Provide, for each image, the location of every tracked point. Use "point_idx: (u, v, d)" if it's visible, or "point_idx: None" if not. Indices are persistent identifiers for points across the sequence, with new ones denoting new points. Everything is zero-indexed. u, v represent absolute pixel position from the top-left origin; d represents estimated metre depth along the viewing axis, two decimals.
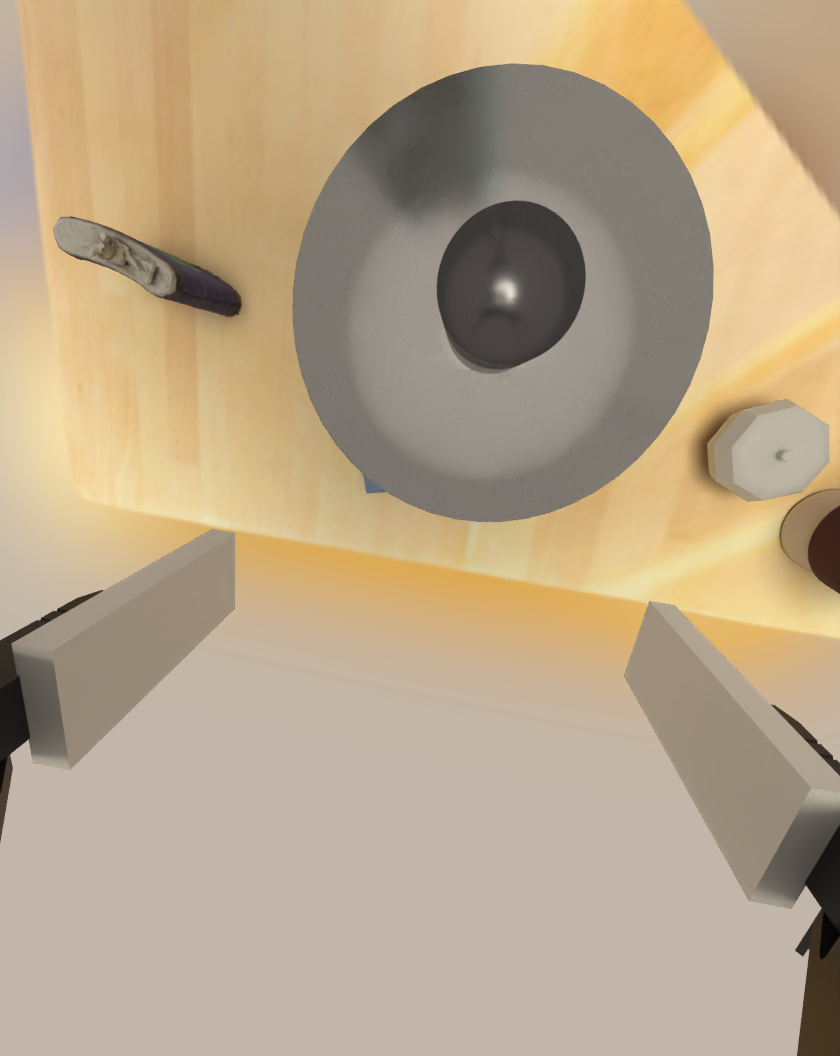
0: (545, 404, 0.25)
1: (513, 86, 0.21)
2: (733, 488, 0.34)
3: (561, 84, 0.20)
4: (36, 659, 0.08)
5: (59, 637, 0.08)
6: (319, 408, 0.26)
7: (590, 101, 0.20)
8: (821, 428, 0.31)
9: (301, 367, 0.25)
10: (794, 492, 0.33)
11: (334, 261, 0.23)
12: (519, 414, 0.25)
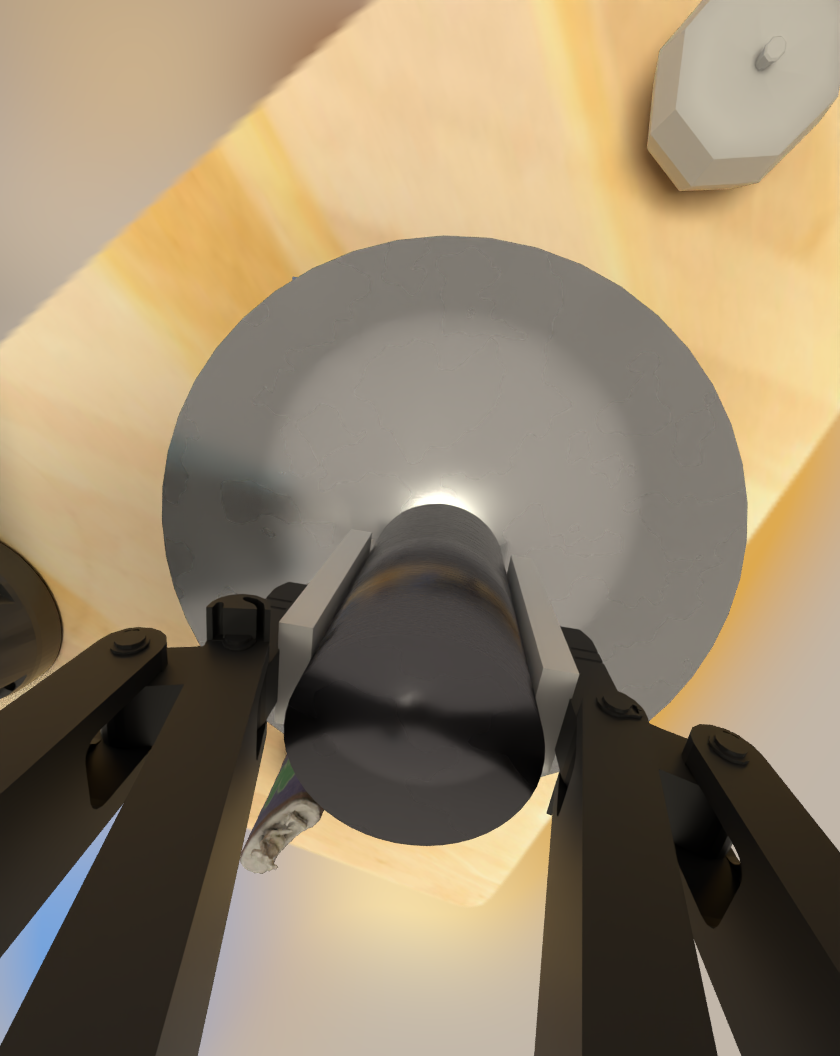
0: (568, 518, 0.16)
1: (183, 489, 0.17)
2: (784, 152, 0.20)
3: (188, 433, 0.16)
4: (297, 635, 0.10)
5: (309, 617, 0.10)
6: None
7: (209, 399, 0.16)
8: None
9: None
10: None
11: None
12: (570, 557, 0.16)
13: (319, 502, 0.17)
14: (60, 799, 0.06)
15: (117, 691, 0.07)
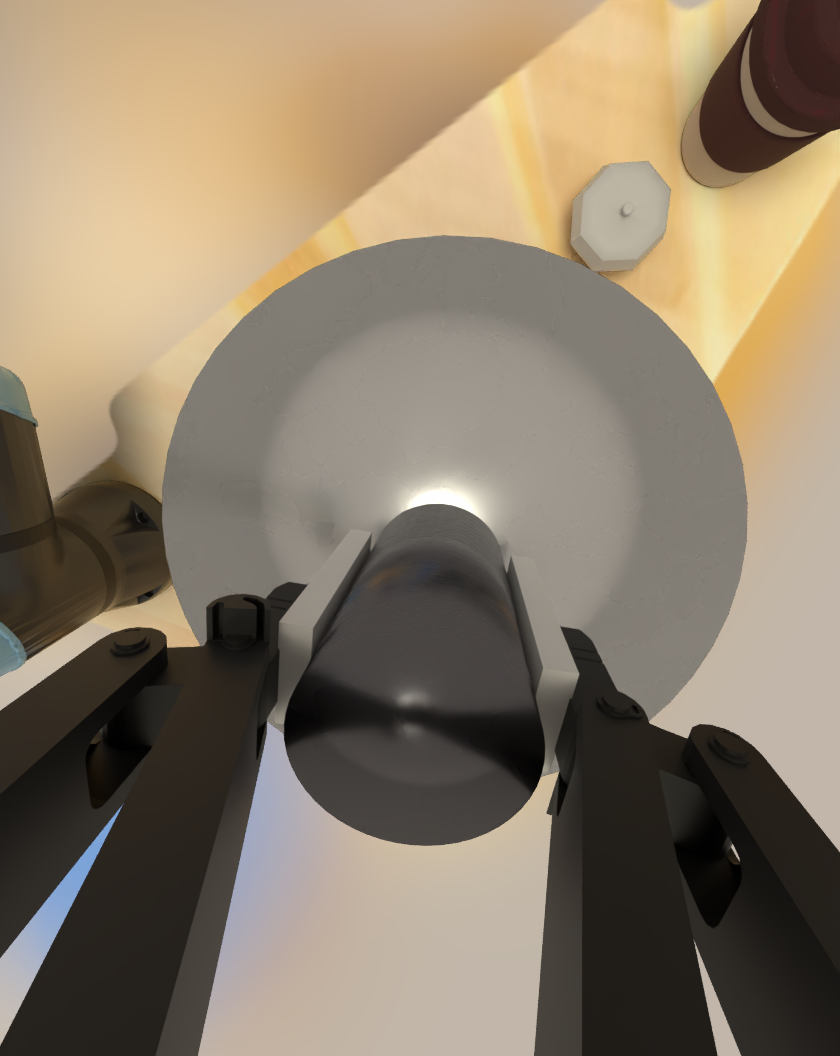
0: (568, 518, 0.16)
1: (183, 488, 0.17)
2: (643, 256, 0.36)
3: (188, 432, 0.16)
4: (296, 635, 0.10)
5: (308, 617, 0.10)
6: None
7: (209, 399, 0.16)
8: (612, 172, 0.33)
9: None
10: (668, 197, 0.34)
11: None
12: (570, 557, 0.16)
13: (319, 502, 0.17)
14: (60, 799, 0.06)
15: (117, 691, 0.07)
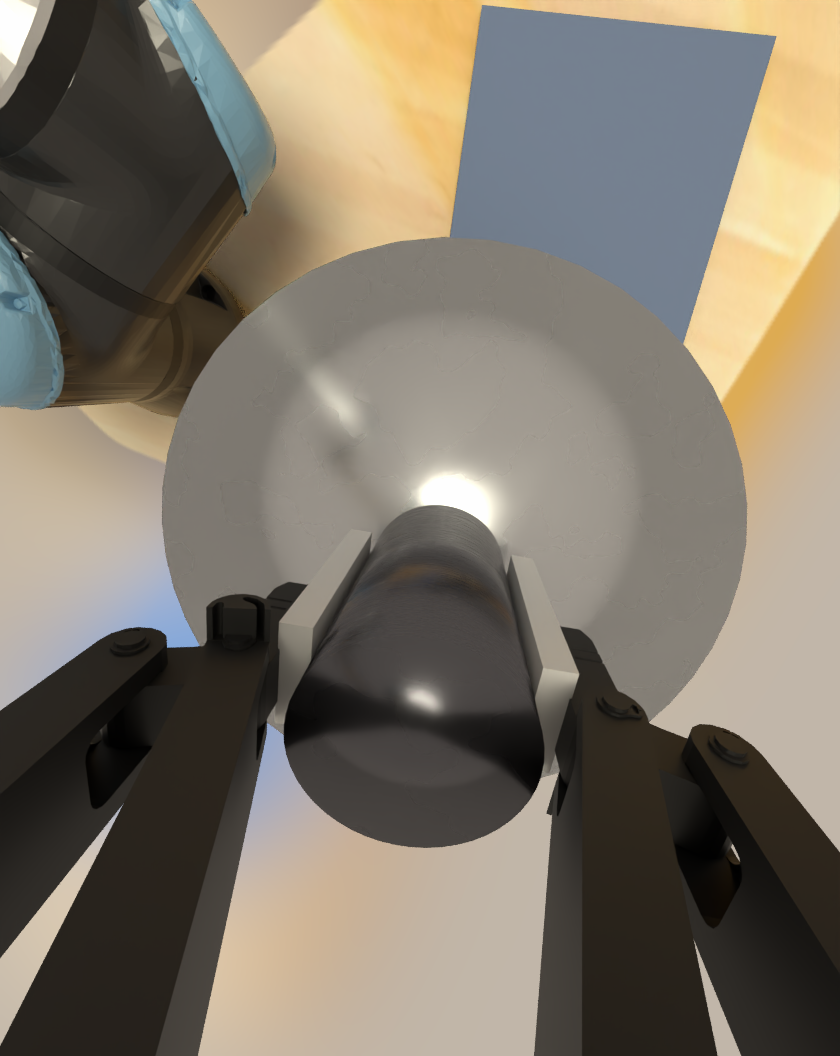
0: (568, 520, 0.16)
1: (183, 490, 0.17)
2: None
3: (188, 434, 0.16)
4: (297, 635, 0.10)
5: (308, 617, 0.10)
6: None
7: (209, 401, 0.16)
8: None
9: None
10: None
11: None
12: (570, 559, 0.16)
13: (319, 503, 0.17)
14: (60, 799, 0.06)
15: (117, 691, 0.07)
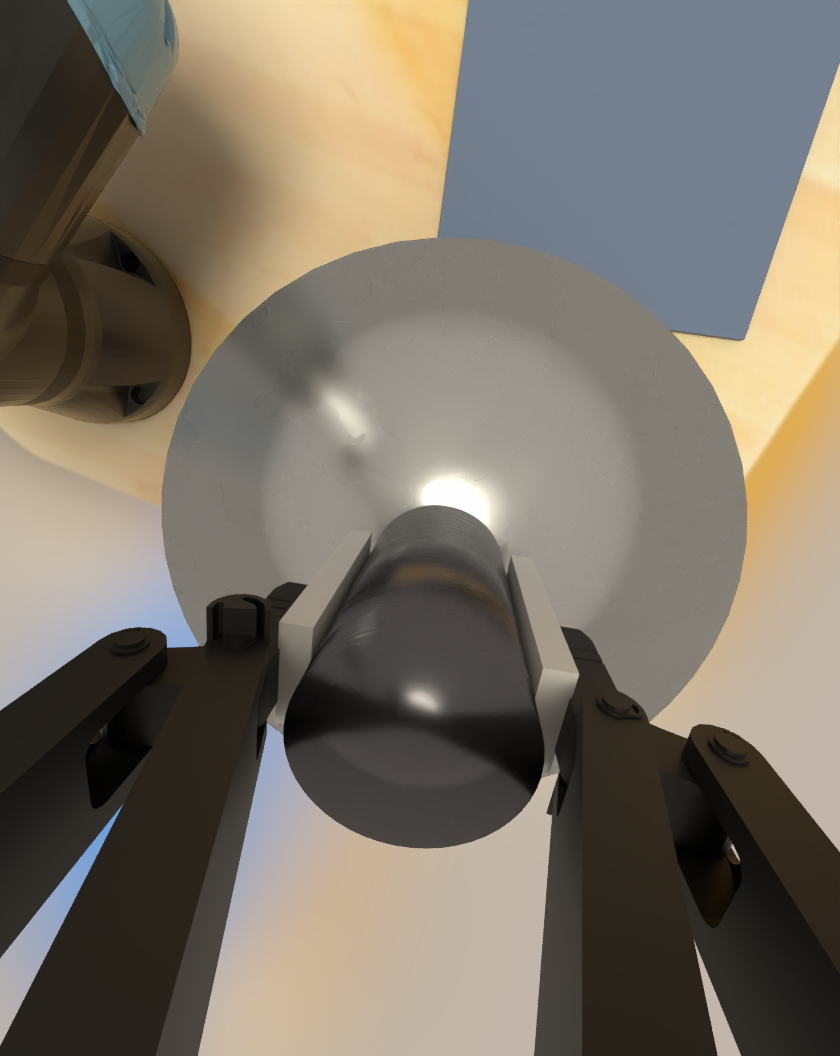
0: (568, 520, 0.16)
1: (183, 490, 0.17)
2: None
3: (188, 434, 0.16)
4: (297, 635, 0.10)
5: (309, 617, 0.10)
6: None
7: (209, 401, 0.16)
8: None
9: None
10: None
11: None
12: (570, 559, 0.16)
13: (319, 503, 0.17)
14: (60, 799, 0.06)
15: (117, 691, 0.07)
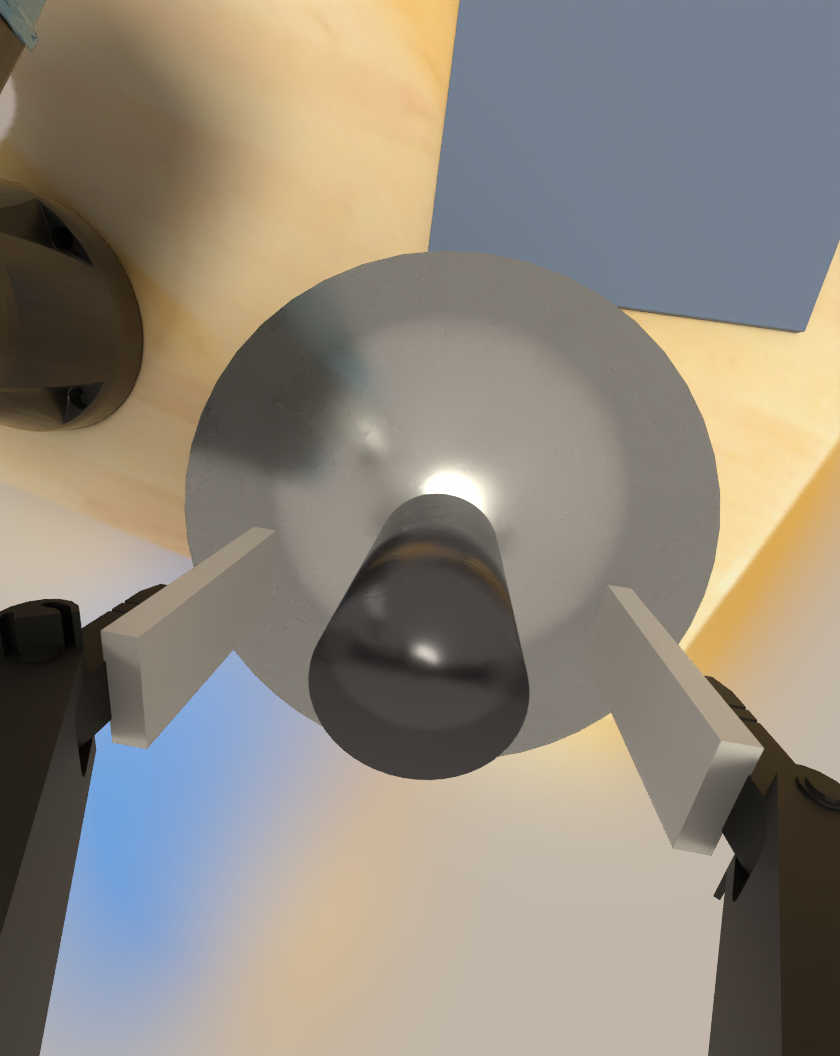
0: (557, 507, 0.17)
1: (205, 480, 0.18)
2: None
3: (210, 428, 0.18)
4: (122, 645, 0.08)
5: (141, 625, 0.09)
6: None
7: (230, 398, 0.17)
8: None
9: None
10: None
11: None
12: (559, 543, 0.18)
13: (330, 492, 0.18)
14: None
15: None
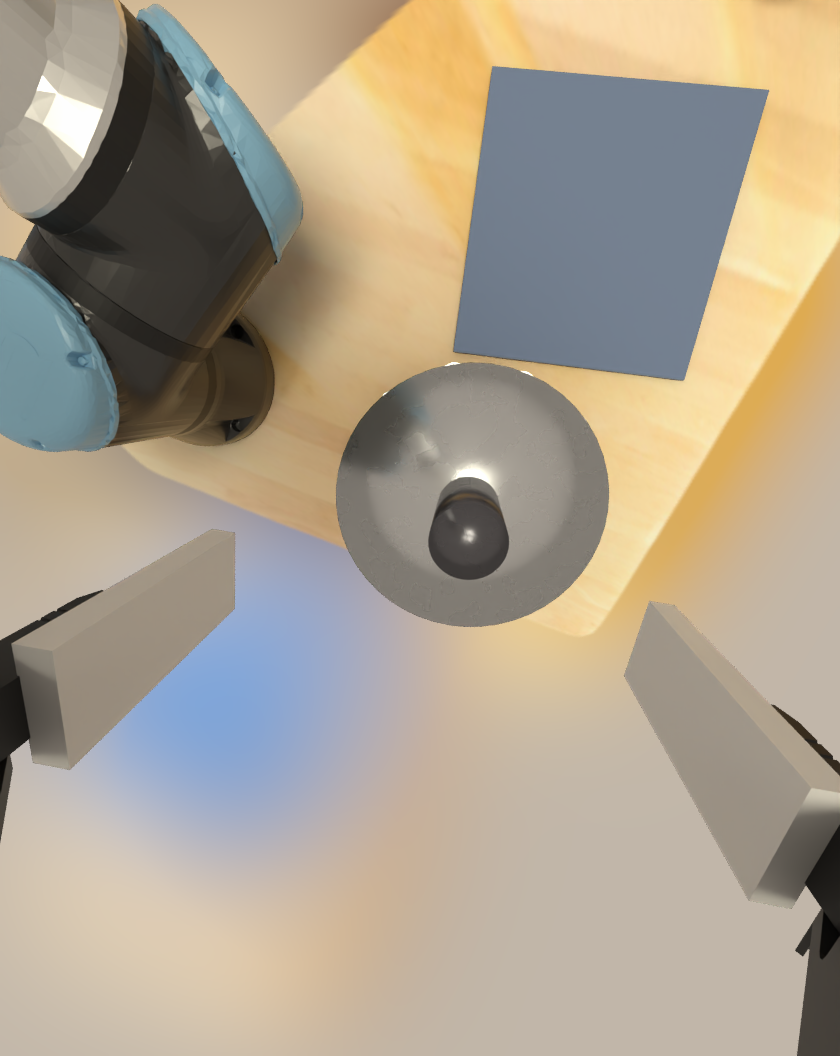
0: (528, 482, 0.35)
1: (348, 471, 0.36)
2: None
3: (353, 445, 0.35)
4: (36, 659, 0.08)
5: (59, 637, 0.08)
6: (487, 623, 0.39)
7: (365, 430, 0.35)
8: None
9: (460, 625, 0.39)
10: None
11: (408, 589, 0.39)
12: (530, 500, 0.35)
13: (413, 476, 0.36)
14: None
15: None
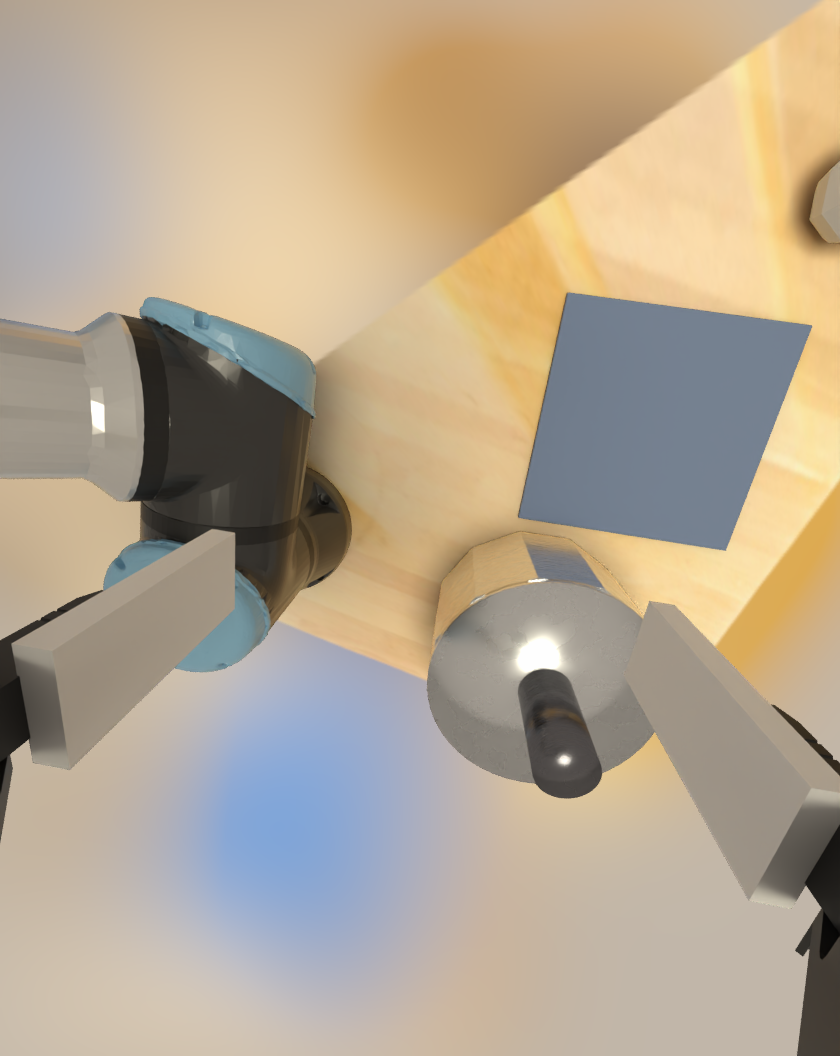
0: (600, 676, 0.40)
1: (440, 659, 0.41)
2: None
3: (446, 640, 0.40)
4: (36, 659, 0.08)
5: (59, 637, 0.08)
6: None
7: (458, 629, 0.40)
8: None
9: (530, 782, 0.44)
10: None
11: (486, 752, 0.44)
12: (600, 690, 0.40)
13: (498, 666, 0.41)
14: None
15: None
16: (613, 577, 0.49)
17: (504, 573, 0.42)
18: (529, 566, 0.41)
